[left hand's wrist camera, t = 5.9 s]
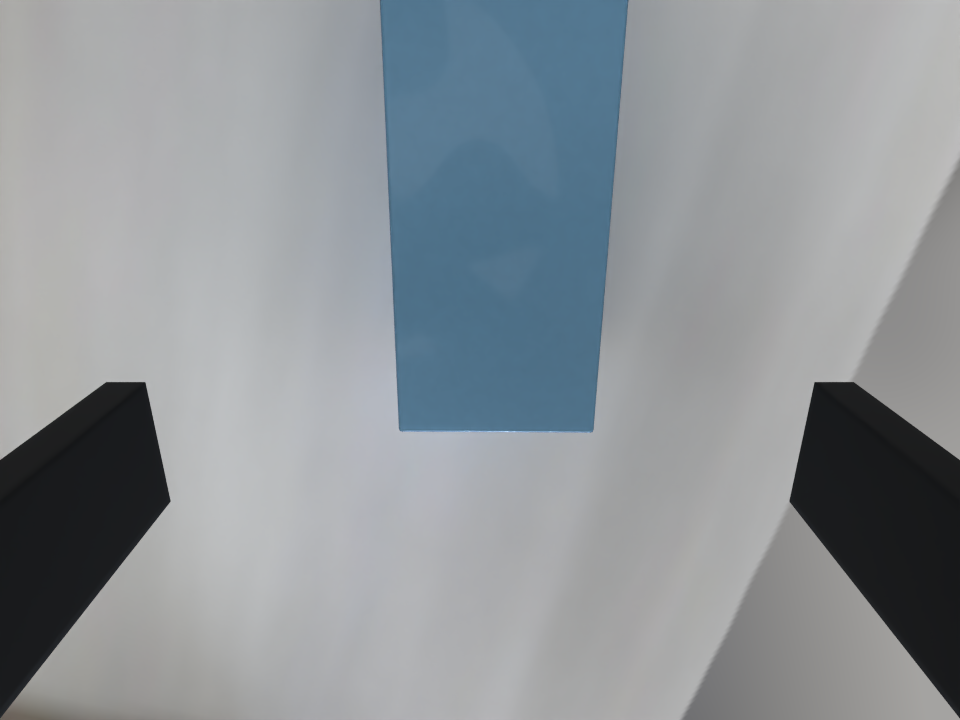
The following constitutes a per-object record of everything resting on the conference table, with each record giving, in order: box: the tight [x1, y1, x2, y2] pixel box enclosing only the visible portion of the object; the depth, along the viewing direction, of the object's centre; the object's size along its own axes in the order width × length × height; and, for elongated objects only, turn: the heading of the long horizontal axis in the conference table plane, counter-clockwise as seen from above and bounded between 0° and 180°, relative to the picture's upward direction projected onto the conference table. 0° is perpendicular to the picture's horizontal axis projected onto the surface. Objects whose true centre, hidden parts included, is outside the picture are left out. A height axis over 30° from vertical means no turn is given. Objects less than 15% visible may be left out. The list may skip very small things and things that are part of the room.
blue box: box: [380, 0, 628, 432], centre depth 23 cm, size 16×7×9 cm, turn 0°
